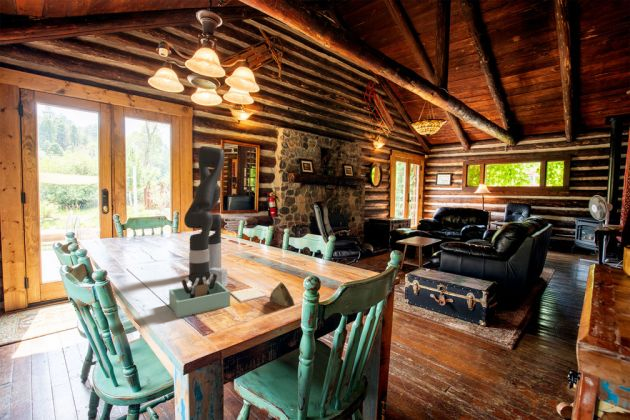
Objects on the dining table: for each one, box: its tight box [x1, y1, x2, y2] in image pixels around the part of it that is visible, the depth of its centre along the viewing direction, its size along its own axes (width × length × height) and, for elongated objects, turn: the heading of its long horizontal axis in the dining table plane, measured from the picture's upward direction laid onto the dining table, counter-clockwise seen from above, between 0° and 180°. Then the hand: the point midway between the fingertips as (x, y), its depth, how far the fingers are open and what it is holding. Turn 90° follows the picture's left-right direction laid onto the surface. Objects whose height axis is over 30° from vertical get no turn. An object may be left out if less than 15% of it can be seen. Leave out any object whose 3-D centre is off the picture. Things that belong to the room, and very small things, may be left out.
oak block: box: [193, 284, 207, 298], centre depth 117 cm, size 4×4×9 cm
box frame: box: [168, 281, 231, 319], centre depth 117 cm, size 15×20×6 cm
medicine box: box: [207, 267, 228, 288], centre depth 138 cm, size 8×4×9 cm, turn 71°
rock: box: [269, 282, 296, 307], centre depth 121 cm, size 11×9×10 cm
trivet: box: [230, 286, 267, 303], centre depth 129 cm, size 12×12×1 cm
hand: (199, 300), depth 117 cm, fingers closed on oak block, 4 cm apart
